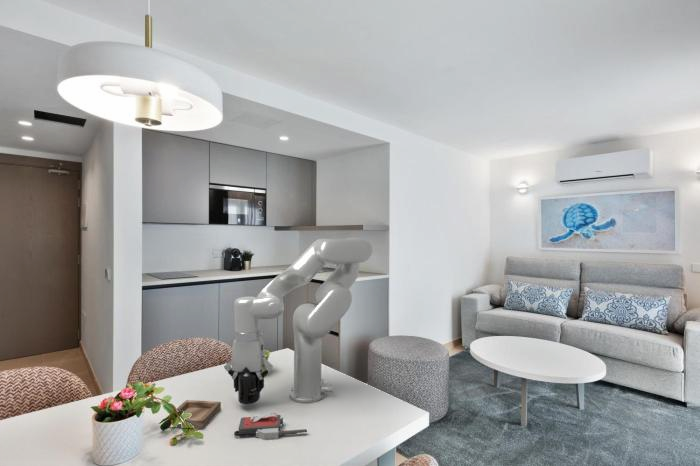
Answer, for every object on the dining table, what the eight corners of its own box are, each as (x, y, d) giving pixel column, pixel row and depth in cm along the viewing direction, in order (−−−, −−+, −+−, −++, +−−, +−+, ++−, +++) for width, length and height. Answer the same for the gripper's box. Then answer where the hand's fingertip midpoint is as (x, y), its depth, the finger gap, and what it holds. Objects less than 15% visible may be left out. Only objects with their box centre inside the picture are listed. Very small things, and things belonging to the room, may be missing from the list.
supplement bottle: (256, 405, 111) (255, 367, 111) (235, 405, 111) (234, 367, 111) (262, 394, 118) (261, 359, 118) (242, 395, 118) (241, 359, 118)
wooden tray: (220, 409, 112) (220, 401, 112) (202, 429, 101) (202, 420, 101) (186, 407, 113) (186, 399, 113) (164, 427, 102) (164, 418, 102)
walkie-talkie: (232, 444, 95) (307, 438, 98) (232, 427, 95) (307, 422, 98) (237, 426, 104) (305, 421, 107) (237, 411, 104) (306, 406, 107)
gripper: (277, 332, 117) (278, 385, 117) (226, 332, 119) (228, 384, 119) (269, 339, 110) (271, 396, 110) (216, 339, 111) (218, 395, 111)
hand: (249, 389), depth 114 cm, fingers closed on supplement bottle, 6 cm apart
